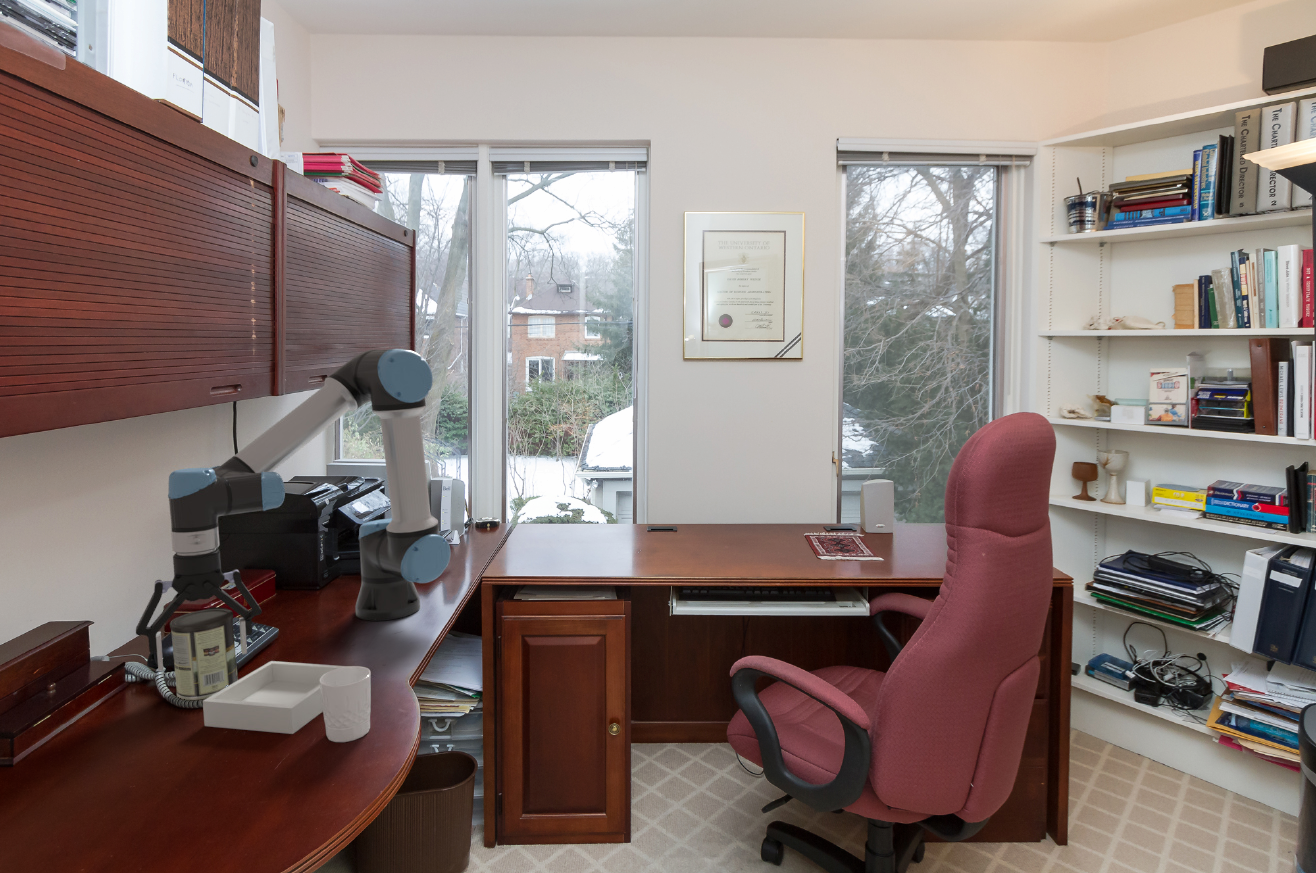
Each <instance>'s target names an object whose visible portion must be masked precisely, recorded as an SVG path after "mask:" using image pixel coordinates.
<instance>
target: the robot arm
mask: <svg viewBox="0 0 1316 873" xmlns="http://www.w3.org/2000/svg"><path fill="white" fill-rule="evenodd" d="M432 387H433V372H432V369H431V367H430V364H429V363H428V362H427V361H426V359H425V358H424V357H422V356H421V355H420V354H419V353H417V352H415V351H413V350H409V349H404V348H393V349H370V350H367V351H364V352H361V353H360V354H358V355H355V356H354V357H353V358H351V359H349V361H347V362H346V363H344V364H343V365H342V366H340V367H339V368H338V369H337V370H335V371H334V372H333V373H331V374H330V375H329V376H327V377H326V378H325V379H324V385H323V386H322V387H321V388H320V389H319V390H317V391H316V392H315V393H313V394H312V395H310V396H309V397H308V398H307V399H306V400H304V401H303V402H302V403H300V404H299V405H298V406H297V407H295V408H294V409H293V410H291V411H290V412H289V413H288V414H287V415H285V416H284V417H282V418H281V419H280V420H278V421H277V422H276V423H275V424H273V425H271V426H270V427H269V428H268V429H267V430H266V431H264V432H263V433H262V434H260V435H259V436H257V437H256V438H255V439H254V440H252V441H251V442H250V443H249V444H247V445H246V446H245V447H244V448H243V449H241V450H240V451H239V452H237V453H236V454H234V455H233V456H232V457H230V458H229V459H227V460H226V461H225V462H224V463H223V464H221V465H217V466H212V467H191V468H189V467H188V468H181V469H177V470H174V471H172V472H171V473H169V475H168V495H167V498H168V503H169V505H168V506H169V514H170V525H171V526H170V527H171V528H170V529H171V531H170V532H171V533H170V534H171V544H172V545H171V546H172V547H171V548H172V551H173V552H174V555H172V563H173V579H172V580H161V579H157V580H155V581H154V589H153V594H152V595H151V597H150V599H149V601H148V603H147V605H146V607H145V610H144V611H143V614H141V615H142V616H141V617H140V618H139V621H138V624H137V625H136V627H135V635H137V636H146V637H147V638H148V650H149V652H150V654H156V656H157V667H158V668H157V669H158V672H160V671H164V662H163V661H164V660H163V646H162V632H161V629H162V628H163V627H164V625H165V624H166V623H167V622H168V620H169V619H170V618H171V617H172V616H173V614H174V613H175V612H176V611H177V610H178V608H179V607H180V606H181V605H182V604H183V603H184V602H185V601H188V602H190V603H191V602H195V601H199V600H208V599H209V600H210V598H212V597H213V596H215V597H216V598H217V599H218V600H220V601H222V602H223V603H224V604H225V605H227V606H228V607H229V608H231V609H232V611H234V612H236V614H238V615H239V616H240V617H238V618H239V638H240V651H241V654H242V655H247V654H248V649H247V648H248V647H247V646H248V645H247V636H252V634H253V625H252V624H253V622H252V620H253V618H254V617H256V616H260V615H261V614H262V612H263V611H262V609H261V607H260V605H259V604H258V602H257V601H256V599H255V598H254V597H253V595H252V594H251V592H250V591H249V589H248V588H247V587H246V585H245V584H244V582H243V581H242V577H241V572H240V571H239V569H237V568H234V569H233V570H232V571H229V572H224V573H223V571H222V565H221V564H222V563H221V551H220V549H218V548H219V546H220V534H219V532H220V531H219V522H218V521H219V517H221V516H222V517H224V516H230V515H237V514H244V513H252V512H259V511H260V512H261V511H262V512H266V511H268V510H272V509H278V508H280V506H282V505H283V503H284V501H285V497H286V496H285V495H286V491H285V489H286V488H285V484H284V480H283V478H282V476H281V475H280V474H279V473H278V472H276V471H275V470H277V469H278V468H279V467H280V466H281V465H283V464H284V463H285V462H286V461H288V460H289V459H290V458H292V457H293V456H294V455H296V453H298V452H299V451H300V450H301V449H302V448H304V447H305V446H306V445H308V444H309V443H311V441H312V440H314V439H315V438H316V437H317V436H318V435H320V434H321V433H322V432H324V431H325V430H326V429H327V428H328V427H330V426H331V425H332V424H333V423H334V422H336V421H337V420H339V419H340V418H341V417H342V416H343V415H344V414H346V413H348V412H355V411H357V410H358V409H359V408H361V406H363V405H365V404H367V403H369V402H370V403H371V409H372V413H374V414H375V415H377V416H378V418H379V419H380V426H381V435H382V443H383V450H384V452H383V453H384V459H385V468H386V477H387V484H388V485H387V486H388V493H389V503H390V511H391V512H390V513H391V517H390V518H383V519H376V520H371V521H367V522H364V523H362V524H361V525H360V527H359V531H358V532H359V533H358V534H359V535H358V541H359V557H360V558H359V559H360V576H361V585H360V588H359V589H360V590H359V593H358V596H357V598H356V603H355V616H356V617H357V618H359V619H361V620H365V621H372V622H373V621H377V622H378V621H379V622H380V621H391V620H395V619H400V618H405V617H407V616H410V615H413V614H414V613H416V612H418V611H419V610H420V608H421V599H420V595H419V592H418V591H417V588H416V586H415V585H416V584H415V583H417V584H427V583H431V582H433V581H435V580H436V579H438V578H439V577H440V576H441V575H442V574H443V573H444V571H445V569H447V567H448V565H449V563H450V560H451V555H452V554H451V553H452V552H451V546H450V544H449V542H448V541H447V539H446V538H445V537H443V536H442V535H440V534H441V533H440V528H439V520H438V519H437V518H435V517H434V516H433V515H432V514H431V505H430V496H429V489H428V488H429V486H428V479H427V478H428V476H427V468H426V460H425V449H424V441H423V431H422V421H421V414H422V412H423V411H424V410H425V408H426V407H427V406H426V405H427V404H426V397H427V396H428V395H429V392H430V390H431V389H432ZM225 580H227V581H228V583H229V584H234V585H235V587H236V589H237V590H238V591H239V593H240V595H241V596H242V597H243V599H244V600H245V602H246V603H247V604H248V605H249V607H250V608H251V609H247V608H246V607H244V606H243V605H242V604H241V603H239V602H238V601H237V600H235V598H233V597H232V596H231V595H229V593H227V592H226V591H225V590H224V589H222V587H221V586H222V584H223V583H224V582H225ZM170 588H172V589H173V590H174V591H175V592H176V594H175V596H174V597H173V598H172V600H171V601H170V602H169V604H168V605H167V606H166V607H165V608H164V610H162V612H161V613H160V614H159V616H157V618H156V619H155V620H154V622H152V624H151V625H150V626H148V625H149V623H150V621H151V619H152V618H153V615H154V613H155V611H156V609H157V607H158V606H159V602H160V601H161V599H162V595H163V594H167V593H168V590H169V589H170Z"/></svg>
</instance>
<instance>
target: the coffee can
mask: <svg viewBox="0 0 1316 873" xmlns="http://www.w3.org/2000/svg"><path fill="white" fill-rule="evenodd" d="M233 617H234V612H233V610H230V609H226V608H209V609H203V610H202V609H201V610H196V611H192V612H189V613H185V614H182V615H180V616H177V617H175V618H173V619H172V620H171V621H170V622H169V627H170V632H171V641H172V645H171V646H172V654H173V663H174V664H173V665H174V676H175V686H176V687H175V688H176V696H177V698H178V697H179V698H178V699H180V698H181V700H184V699H185V700H184V701H199V700H205V699H207V698H209V697H210V696H212V695H214V694H216V693H217V692H219V691H221V690H222V689H224V688H225V686H226V685H231V684H233V683H234V682H236V681H238V680H239V678H238V669H237V668H238V667H237V658H236V657H237V656H236V646H235V644H236V643H235V632H234V631H235V630H234V620H233V619H234V618H233Z"/></svg>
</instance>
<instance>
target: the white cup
mask: <svg viewBox="0 0 1316 873" xmlns="http://www.w3.org/2000/svg"><path fill="white" fill-rule="evenodd" d="M371 676H372V675H371V670H370V668H368V667H365V666H361V665H360V666H359V665H350V666H348V667H342V668H338V669H335V670H332V671H329V672H327V673H325V674H324V675H323V676H321V678H320V680H319V682H320V690H321V699H322V708H323V712H322V713H323V721H324V724H325V734H326V737H327V739H328V741H331V742H334V743H346V742H352V741H355V740H358V739H360V738H362V737H364V736H365V735H366V734H368V733H369V731H370V729H371V709H372V708H371V702H372V701H371V700H372V698H371V697H372V696H371V694H372V692H371V691H372V690H371V688H372V687H371V685H372V684H371V683H372V682H371V681H372V680H371V679H372V678H371Z"/></svg>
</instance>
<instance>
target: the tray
mask: <svg viewBox="0 0 1316 873" xmlns="http://www.w3.org/2000/svg"><path fill="white" fill-rule="evenodd" d="M342 667H349V666H348V665H346V666H345V665H331V664H319V663H305V662H304V663H303V662H292V661H291V662H288V661H278V660H277V661H275V660H271V661H268V662H267V663H265V664H264V665H262V666H260V667H258V668H256V669H255V670H253V671H251V672H250V673H248V674H246V675H245V676H243V677H241V678H238V681H236V682H234V683H233V684H231V685H229V686H228V687H226V688H224V689H222V690H221V691H219V692H217V693H216V694H214V695H212V696H210V697H209V698H206V699H203V700H202V708H203V710H202V711H203V722H204V727H213V728H223V729H233V730H235V729H236V730H247V731H257V732H268V733H280V734H288V735H289V734H290V735H293V734H295V733H297V732H298V731H299V730H301V729H302V728H304V726H305V725H307V724H308V723H309V722H311V721H312V720H313V719H315V718H316V717H318V716H319V715H320V714H321V713H323V708H322V699H321V690H320V682H319V680H320V678H321V676H323V675H324V674H325V673H327V672H329V671H332V670H335V669H338V668H342Z"/></svg>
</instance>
